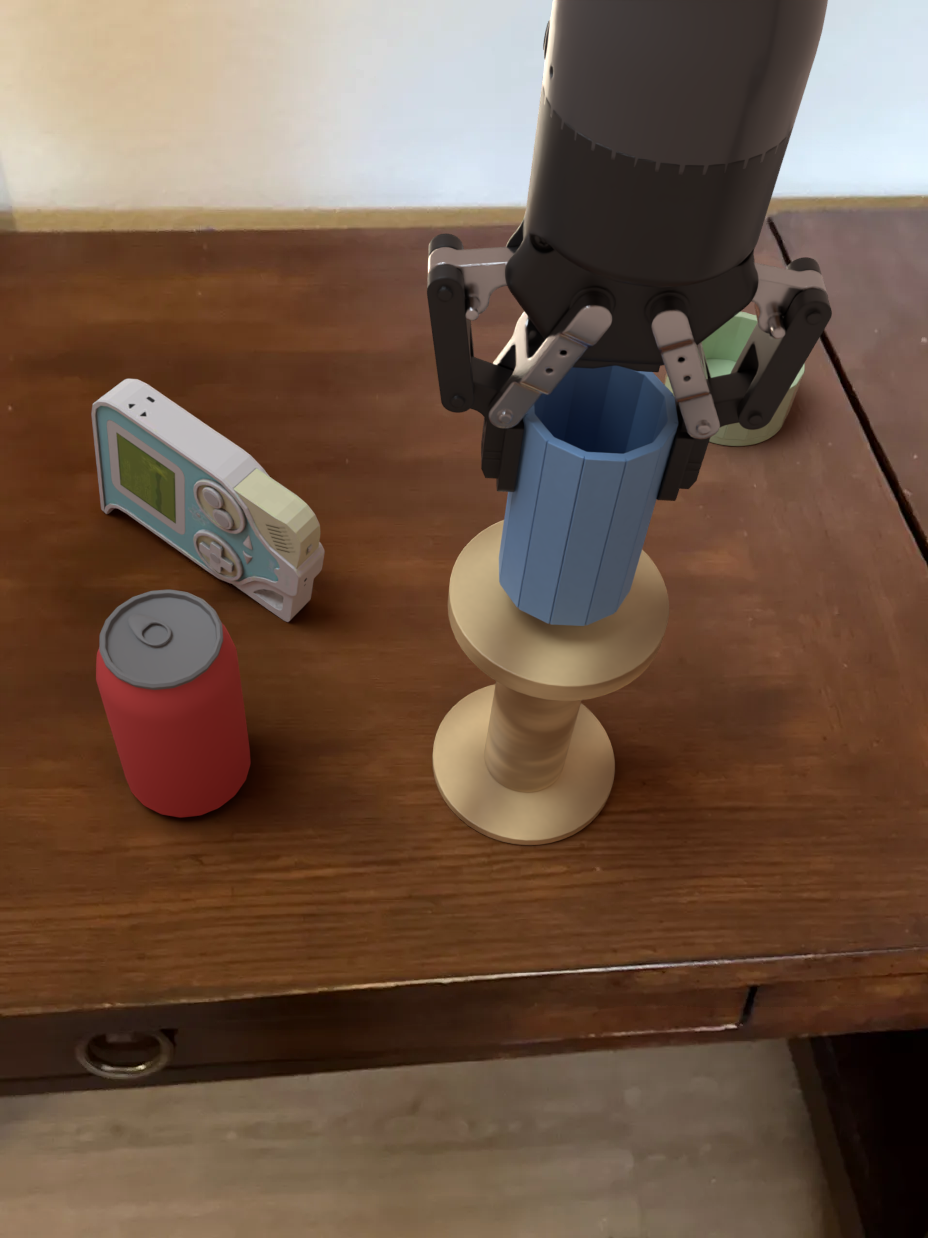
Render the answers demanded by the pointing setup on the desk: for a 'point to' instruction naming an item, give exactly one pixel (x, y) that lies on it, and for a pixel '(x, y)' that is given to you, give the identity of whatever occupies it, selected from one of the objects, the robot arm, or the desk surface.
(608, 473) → the blue cup
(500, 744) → the stand
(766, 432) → the green cup
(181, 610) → the beer can
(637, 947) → the desk surface
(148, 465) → the handheld gaming console
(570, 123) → the robot arm
